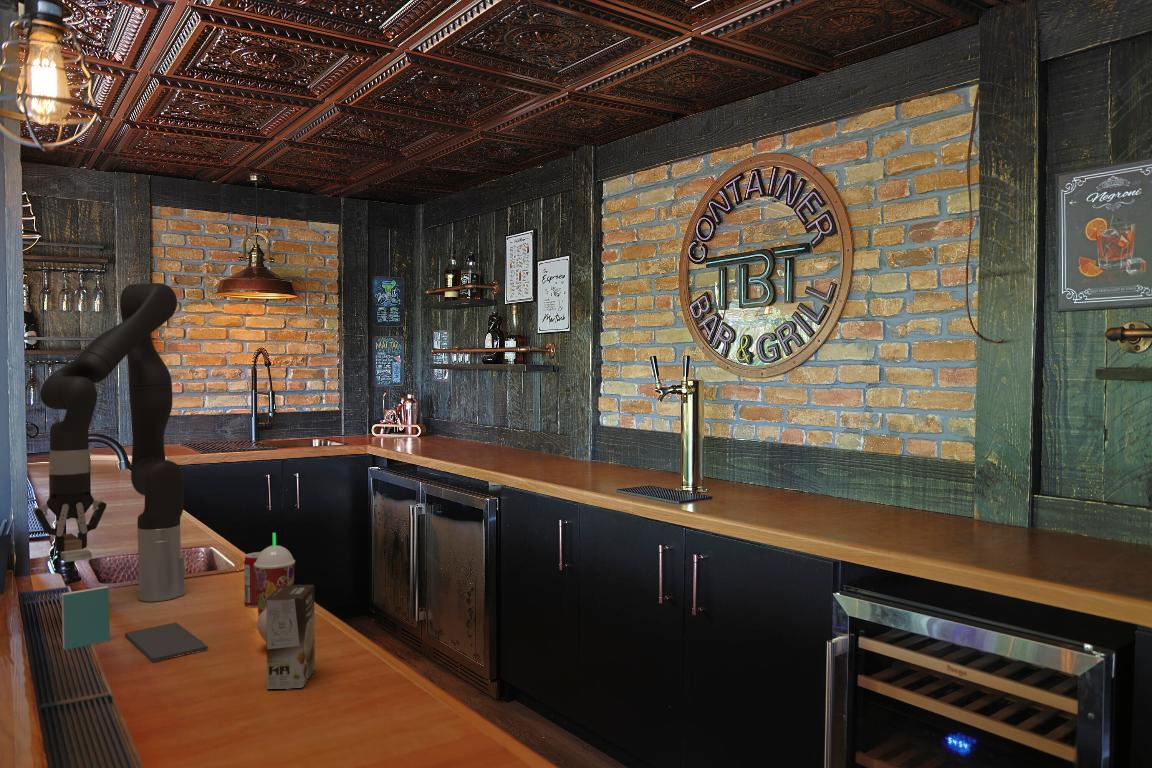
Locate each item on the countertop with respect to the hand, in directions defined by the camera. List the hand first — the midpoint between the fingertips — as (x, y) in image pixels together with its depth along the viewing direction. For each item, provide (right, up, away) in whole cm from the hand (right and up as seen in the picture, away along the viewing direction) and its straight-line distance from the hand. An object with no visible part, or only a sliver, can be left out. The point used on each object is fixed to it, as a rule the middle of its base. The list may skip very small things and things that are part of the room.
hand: (71, 551), depth 177 cm
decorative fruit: (+49, -17, -11) cm, 53 cm away
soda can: (+33, -16, +18) cm, 41 cm away
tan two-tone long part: (0, 0, 0) cm, 1 cm away
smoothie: (+42, -17, +3) cm, 46 cm away
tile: (+8, -17, -9) cm, 21 cm away
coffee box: (+56, -18, -27) cm, 65 cm away
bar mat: (+24, -17, -8) cm, 30 cm away
